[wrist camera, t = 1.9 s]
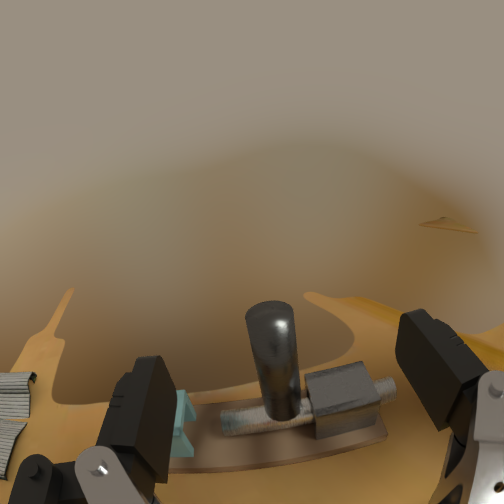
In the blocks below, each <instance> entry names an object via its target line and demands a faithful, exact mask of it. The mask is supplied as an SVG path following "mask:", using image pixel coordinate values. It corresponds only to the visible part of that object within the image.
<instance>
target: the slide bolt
mask: <svg viewBox="0 0 504 504" xmlns="http://www.w3.org/2000/svg"><path fill="white" fill-rule="evenodd" d="M245 319H246V324H247V328H248V333H249V338H250V343H251V347H252V352H253V357H254V361H255V366H256V370H257V375H258V379H259V384H260V389H261V393H262V398H263V402H264V405H261V406H255V407H247V408H239V409H231V410H222V411H221V414H220V419H221V427H222V431H223V434H224V436H233V435H243V434H251V433H259V432H266V431H272V430H278V429H284V428H290V427H295V426H301V425H306V424H310V423H315V417H314V410H313V407H312V403H311V400H310V397H306V398H301V389H300V377H299V366H298V354H297V344H296V334H295V324H294V314H293V309H292V307H291V306H290V305H289V304H287V303H285V302H281V301H266V302H262V303H259V304H256V305H254V306H253V307H251V308H250V309H249V310H248V311H247V313H246V315H245ZM372 382H373V384H374V386H375V388H376V390H377V392H378V394H379V396H380V398H381V403H380V405H382V404H385V403H388V402H391V401H394V400H395V399H396V396H397V390H396V385H395V382H394V380H393V379H392V377H390V376H387V377H384V378H381V379H378V380H374V381H372Z"/></svg>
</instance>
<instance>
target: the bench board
mask: <svg viewBox="0 0 504 504" xmlns="http://www.w3.org/2000/svg"><path fill="white" fill-rule="evenodd" d="M301 398H306V391H305V390H301ZM261 405H264V402H263V398H262V397H261V398H254V399H247V400H239V401H231V402H222V403H212V404H201V405H192V406H193V408H194V410H195V412H196V414H197V415H196V421H187V422H184V423H183V432H184V434H185V435H186V437H187V438H188V440H189V442H190V443H191V445H192V446H193V448H194V457H170V462H169V470H168V473H216V472H232V471H243V470H253V469H261V468H269V467H276V466H282V465H288V464H294V463H299V462H304V461H309V460H314V459H319V458H323V457H328V456H332V455H336V454H340V453H343V452H347V451H351V450H354V449H358V448H361V447H365V446H368V445H371V444H374V443H377V442H380V441H383V440H386V438H387V435H388V432H387V430H386V428H385V426H384V423H383V421H382V419H381V417H380V414H379V412H378V415H377V419H376V423H375V425H372V426H369V427H366V428H362V429H359V430H355V431H352V432H348V433H345V434H341V435H337V436H333V437H329V438H324V439H320V440H316V437H315V423H310V424H306V425H301V426H295V427H290V428H284V429H278V430H272V431H266V432H259V433H251V434H243V435H233V436H224V434H223V431H222V427H221V419H220V414H221V411H222V410H231V409H239V408H247V407H255V406H261Z"/></svg>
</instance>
